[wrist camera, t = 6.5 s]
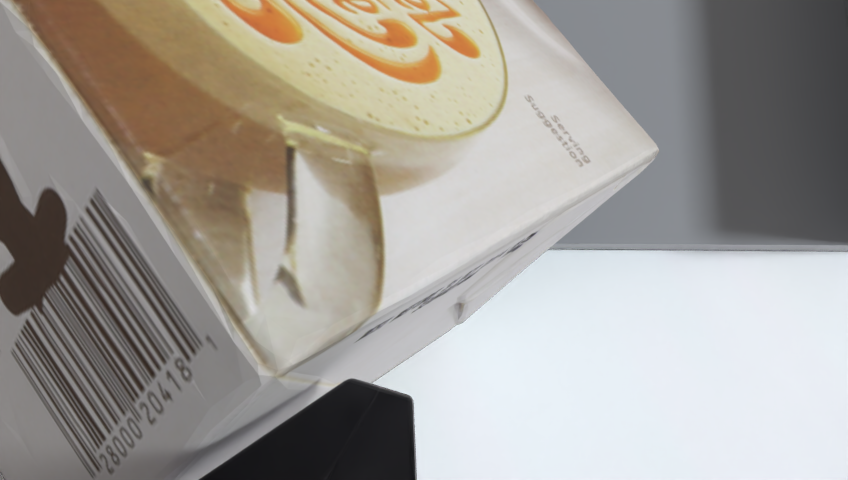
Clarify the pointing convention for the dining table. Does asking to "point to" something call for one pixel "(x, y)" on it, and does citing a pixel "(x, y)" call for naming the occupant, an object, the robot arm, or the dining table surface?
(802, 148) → the box
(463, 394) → the dining table surface
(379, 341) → the coffee box
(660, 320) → the dining table surface
